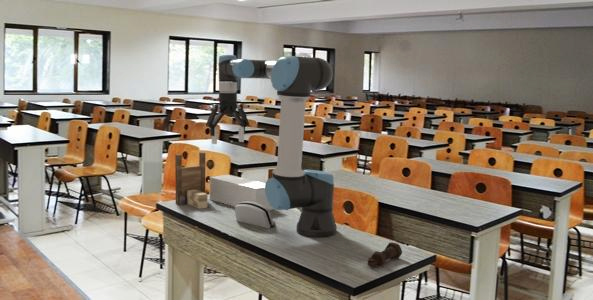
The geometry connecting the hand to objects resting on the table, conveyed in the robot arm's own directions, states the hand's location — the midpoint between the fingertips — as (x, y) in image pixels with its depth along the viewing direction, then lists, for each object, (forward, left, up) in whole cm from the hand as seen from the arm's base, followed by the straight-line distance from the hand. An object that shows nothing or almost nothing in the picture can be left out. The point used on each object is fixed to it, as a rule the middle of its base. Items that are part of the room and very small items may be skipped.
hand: (228, 142), depth 230 cm
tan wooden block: (+14, +7, -29) cm, 33 cm away
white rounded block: (-25, +4, -29) cm, 38 cm away
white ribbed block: (+5, -10, -29) cm, 31 cm away
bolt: (-84, -4, -29) cm, 89 cm away
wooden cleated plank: (+20, +6, -29) cm, 36 cm away
